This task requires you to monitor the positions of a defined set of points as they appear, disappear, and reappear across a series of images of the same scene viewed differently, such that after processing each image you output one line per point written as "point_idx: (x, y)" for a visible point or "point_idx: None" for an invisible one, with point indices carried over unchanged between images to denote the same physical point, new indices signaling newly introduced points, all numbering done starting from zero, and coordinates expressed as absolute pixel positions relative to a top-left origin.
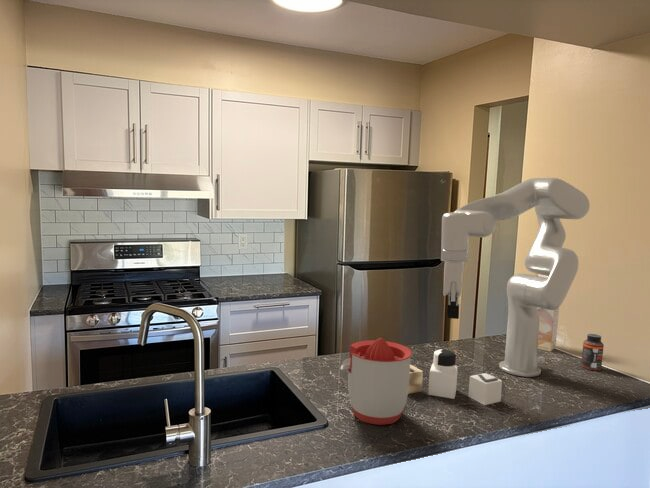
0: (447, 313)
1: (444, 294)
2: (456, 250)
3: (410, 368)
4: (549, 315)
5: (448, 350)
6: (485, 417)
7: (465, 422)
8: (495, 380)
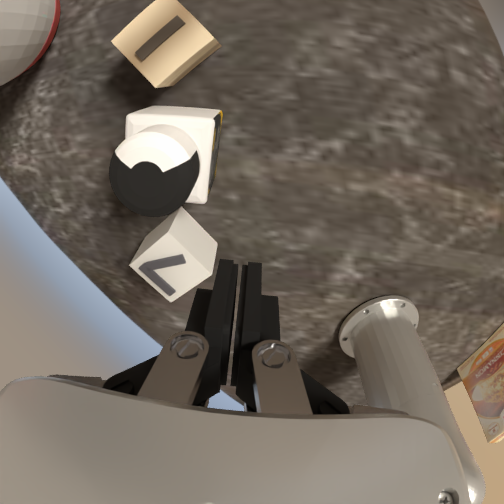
0: (217, 275)
1: (7, 386)
2: None
3: (157, 46)
4: (484, 415)
5: (169, 193)
6: (89, 232)
7: (53, 194)
8: (163, 289)
